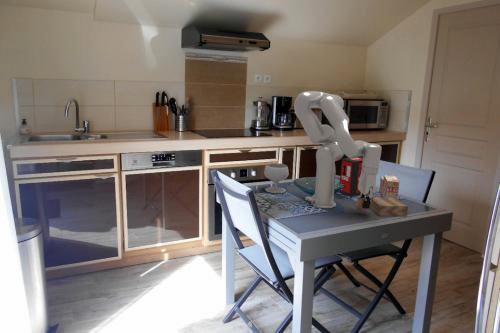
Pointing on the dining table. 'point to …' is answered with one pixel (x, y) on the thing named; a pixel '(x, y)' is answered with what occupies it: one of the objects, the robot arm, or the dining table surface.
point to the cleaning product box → (351, 176)
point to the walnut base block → (388, 206)
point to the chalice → (276, 176)
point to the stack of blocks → (389, 186)
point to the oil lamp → (360, 204)
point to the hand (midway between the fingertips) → (364, 206)
